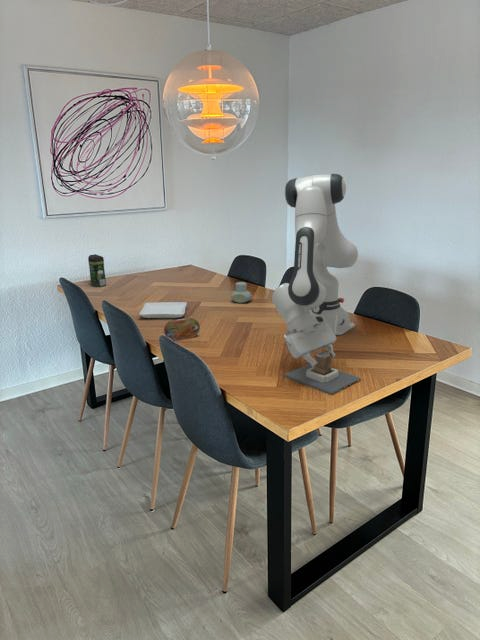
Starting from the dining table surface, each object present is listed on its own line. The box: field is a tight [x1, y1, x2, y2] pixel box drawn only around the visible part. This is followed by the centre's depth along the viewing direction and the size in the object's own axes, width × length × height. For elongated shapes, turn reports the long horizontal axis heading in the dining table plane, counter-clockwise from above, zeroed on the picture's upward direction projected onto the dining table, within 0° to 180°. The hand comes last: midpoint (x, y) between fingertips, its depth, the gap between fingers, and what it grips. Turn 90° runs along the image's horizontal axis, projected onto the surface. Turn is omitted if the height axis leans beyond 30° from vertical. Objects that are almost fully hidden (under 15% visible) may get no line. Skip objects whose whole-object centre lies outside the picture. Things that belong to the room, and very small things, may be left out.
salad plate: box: [139, 301, 188, 319], centre depth 242 cm, size 21×21×3 cm
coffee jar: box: [87, 254, 107, 288], centre depth 297 cm, size 10×8×19 cm
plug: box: [314, 351, 333, 376], centre depth 167 cm, size 4×4×8 cm
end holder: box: [283, 363, 362, 395], centre depth 168 cm, size 16×20×3 cm
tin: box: [163, 317, 201, 342], centre depth 207 cm, size 15×3×8 cm, turn 115°
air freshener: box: [230, 281, 253, 304], centre depth 260 cm, size 11×8×10 cm
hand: (324, 361), depth 166 cm, fingers open, 8 cm apart
